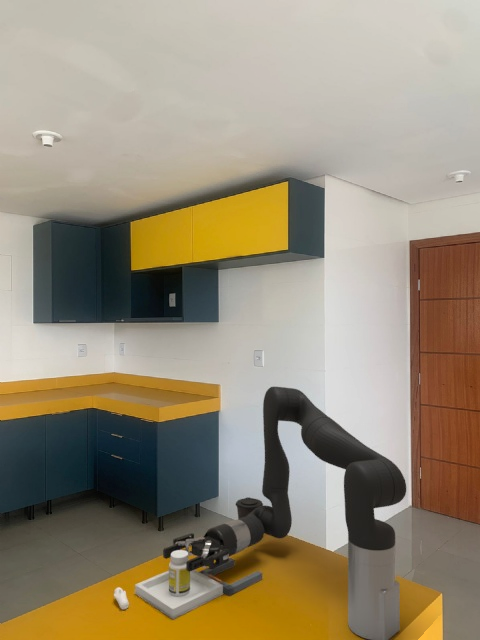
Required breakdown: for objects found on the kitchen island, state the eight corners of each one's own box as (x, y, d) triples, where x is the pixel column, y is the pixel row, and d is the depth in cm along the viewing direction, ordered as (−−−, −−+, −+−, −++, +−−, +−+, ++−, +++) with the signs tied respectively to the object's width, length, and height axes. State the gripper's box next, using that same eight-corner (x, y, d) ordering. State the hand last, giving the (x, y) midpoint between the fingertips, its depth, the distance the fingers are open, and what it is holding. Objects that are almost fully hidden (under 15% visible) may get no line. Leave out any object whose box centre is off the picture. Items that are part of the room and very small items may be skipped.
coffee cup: (250, 526, 152) (250, 493, 153) (268, 535, 146) (268, 500, 146) (229, 533, 147) (229, 499, 147) (247, 542, 141) (247, 507, 141)
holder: (262, 579, 121) (262, 571, 121) (229, 596, 113) (229, 587, 113) (230, 563, 128) (230, 556, 128) (197, 578, 121) (197, 570, 121)
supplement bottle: (191, 586, 116) (192, 549, 116) (187, 597, 111) (188, 558, 111) (171, 585, 116) (171, 548, 117) (166, 596, 112) (166, 557, 112)
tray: (222, 594, 114) (222, 585, 114) (172, 619, 104) (172, 609, 104) (184, 572, 124) (184, 564, 124) (135, 593, 114) (135, 584, 114)
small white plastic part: (110, 613, 106) (110, 598, 106) (114, 598, 112) (114, 584, 112) (128, 612, 106) (128, 597, 106) (131, 597, 112) (131, 583, 112)
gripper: (208, 516, 129) (156, 534, 118) (248, 532, 119) (195, 553, 108) (208, 545, 129) (156, 566, 118) (248, 564, 119) (195, 588, 108)
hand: (175, 560), depth 113 cm, fingers open, 8 cm apart
